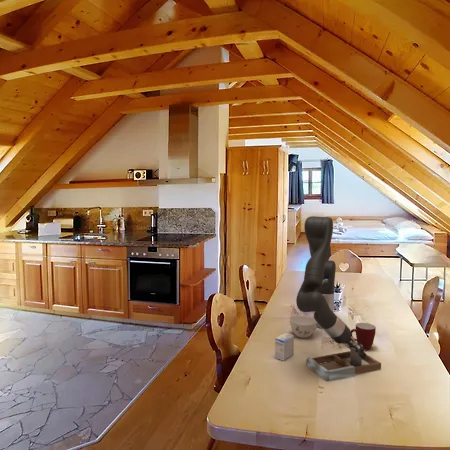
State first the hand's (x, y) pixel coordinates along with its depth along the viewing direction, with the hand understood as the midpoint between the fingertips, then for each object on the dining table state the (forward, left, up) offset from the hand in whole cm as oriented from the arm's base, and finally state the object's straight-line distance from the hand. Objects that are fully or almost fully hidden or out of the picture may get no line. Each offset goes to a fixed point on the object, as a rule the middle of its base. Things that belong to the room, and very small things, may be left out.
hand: (360, 353), depth 152 cm
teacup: (-33, -5, -4) cm, 34 cm away
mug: (-12, +11, -4) cm, 17 cm away
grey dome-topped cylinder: (0, -2, -4) cm, 5 cm away
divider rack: (0, -8, -4) cm, 9 cm away
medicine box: (-16, -25, -4) cm, 30 cm away
